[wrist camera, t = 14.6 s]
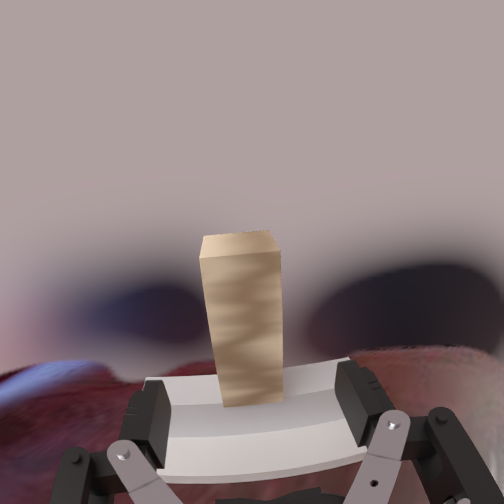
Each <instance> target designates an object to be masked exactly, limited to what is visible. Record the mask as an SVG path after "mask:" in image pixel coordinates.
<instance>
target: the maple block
mask: <svg viewBox="0 0 504 504" xmlns="http://www.w3.org/2000/svg"><path fill="white" fill-rule="evenodd" d="M280 258H281V256H280V250H279V248H278V246H277V244H276V242H275V240H274V239H273V237H272V235H271V234H270V232H269V230H265V231H253V232H243V233H232V234H220V235H209V236H204V238H203V243H202V248H201V252H200V257H199V260H200V268H201V275H202V282H203V289H204V296H205V303H206V309H207V315H208V322H209V329H210V335H211V341H212V347H213V353H214V358H215V364H216V370H217V375H218V381H219V386H220V391H221V396H222V401H223V407H224V408H226V407H238V406H248V405H258V404H266V403H274V402H281V401H283V337H282V336H283V332H282V331H283V329H282V289H281V288H282V287H281V259H280Z"/></svg>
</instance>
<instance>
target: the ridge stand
mask: <svg viewBox="0 0 504 504" xmlns="http://www.w3.org/2000/svg"><path fill="white" fill-rule="evenodd" d="M346 360H350V359H349V357H347V358H341V359H336V360H331V361H325V362H319V363H313V364H307V365H300V366H294V367H286V368H283V401H281V402H274V403H266V404H258V405H248V406H238V407H226V408H224V407H223V401H222V396H221V391H220V386H219V381H218V375H203V376H181V377H146V380H163V382H164V385H165V388H166V391H167V394H168V397H169V400H170V403H171V420H170V428H169V435H168V443H167V452H166V460H165V469H157V472H156V473H157V474H158V475H159V477H161V478H162V479H163V480H164V482H165V483H178V484H216V483H236V482H249V481H259V480H268V479H276V478H283V477H290V476H296V475H302V474H307V473H313V472H318V471H322V470H327V469H331V468H336V467H340V466H344V465H348V464H352V463H355V462H359V461H362V460H363V459H364V457H365V455H366V453H367V448H366V446H362V447H359V448H358V447H357V444H356V442H355V440H354V437H353V435H352V433H351V430H350V428H349V426H348V423H347V421H346V419H345V416H344V414H343V412H342V409H341V407H340V405H339V402H338V400H337V398H336V395H335V389H334V384H335V377H336V369H337V363H338V362H341V361H346ZM146 380H145V381H146ZM144 385H145V384H144ZM143 388H144V387H143Z"/></svg>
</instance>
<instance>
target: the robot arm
mask: <svg viewBox="0 0 504 504" xmlns="http://www.w3.org/2000/svg"><path fill="white" fill-rule="evenodd" d="M334 389H335V395H336V398H337V400H338V402H339V405H340V407H341V409H342V412H343V414H344V416H345V419H346V421H347V423H348V426H349V428H350V430H351V433H352V435H353V437H354V440H355V442H356V444H357V447H358V448H359V447H362V446H366V448H367V453H366V455H365V457H364V459H363V462H362V464H361V466H360V469H359V471H358V473H357V475H356V478H355V480H354V482H353V484H352V486H351V488H350V490H349V492H348V494H347V496H346V497H344V496H342V495H338V494H334V493H321V490H320V487H317V488H312V489H307V490H302V491H296V492H293V493H290V494H287V495H285V496H282V497H279V498H277V499H274V500H271V501H262V500H252V499H243V498H237V499H217V500H215V504H387V503H388V500H389V498H390V495H391V492H392V490H393V487H394V484H395V481H396V478H397V475H398V472H399V469H400V466H401V462H402V461H401V460H412V462H413V464H414V467H415V469H416V471H417V473H418V476H419V478H420V480H421V482H422V485H423V487H424V489H425V492H426V494H427V496H428V499H429V501H430V504H504V497H503V495H502V493H501V491H500V489H499V487H498V485H497V484H496V482H495V480H494V478H493V476H492V475H491V473H490V471H489V469H488V468H487V466H486V464H485V462H484V461H483V459H482V457H481V456H480V454H479V452H478V451H477V449H476V447H475V446H474V444H473V442H472V441H471V439H470V438H469V436H468V434H467V433H466V431H465V430H464V428H463V426H462V425H461V423H460V422H459V420H458V419H457V417H456V416H455V414H454V413H453V412H452V411H451V410H450V409H448V408H445V407H437V408H434V409H432V410H431V411H430V412H429V414H428V416H422V417H408V415H407V414H406V413H404V412H402V411H399V410H396V409H395V407H394V406H393V404H392V402H391V401H390V399H389V397H388V396H387V394H386V392H385V391H384V389H383V388H382V386H381V384H380V383H379V382H378V379H377V378H376V376H375V375H374V373H373V372H371V371H370V370H369V369H367V368H366V367H364V368H359V366H358V364H357V363H356V361H355V360H354V359H351V360H346V361H341V362H338V363H337V369H336V377H335V384H334ZM170 420H171V403H170V400H169V397H168V394H167V391H166V388H165V385H164V382H163V380H146V381H145V385H144V388H143V391H136V392H135V393H134V394H133V395H132V397H131V398H130V400H129V404H128V408H127V411H126V415H125V418H124V421H123V425H122V428H121V432H120V436H119V439H118V441H116V442H114V443H113V444H111V445H110V447H109V448H108V450H106V451H102V452H95V453H88V452H87V451H86V450H85V449H84V448H81V447H72V448H69V449H68V450H66V451H65V452H64V453H63V455H62V458H61V461H60V465H59V468H58V472H57V475H56V479H55V483H54V487H53V491H52V495H51V499H50V503H49V504H113V503H114V495H115V494H116V493H122V492H129V493H128V494H129V495H130V497H131V499H132V500H133V502H134V503H135V504H183V503H182V502H181V501H180V500H179V498H178V497H177V496H176V495H175V494H174V493H173V491H172V490H171V489H170V488H169V487H168V485H167V484H166V483H165V482H164V480H163V479H162V478H161V477H159V475H158V474H157V473H156V472H157V469H165V460H166V452H167V443H168V435H169V428H170Z"/></svg>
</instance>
